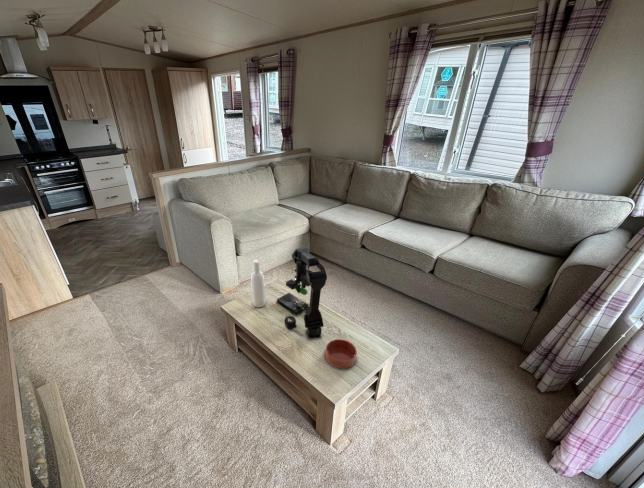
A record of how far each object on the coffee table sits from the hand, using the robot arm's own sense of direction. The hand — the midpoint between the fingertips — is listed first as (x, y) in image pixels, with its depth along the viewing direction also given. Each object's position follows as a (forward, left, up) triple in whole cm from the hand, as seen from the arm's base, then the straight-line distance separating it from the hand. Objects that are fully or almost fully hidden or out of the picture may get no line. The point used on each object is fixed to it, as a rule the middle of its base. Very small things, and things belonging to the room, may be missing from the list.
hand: (301, 291), depth 173 cm
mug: (-7, -19, -12) cm, 23 cm away
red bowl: (+13, -41, -11) cm, 44 cm away
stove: (-5, +2, -11) cm, 12 cm away
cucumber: (0, 0, -1) cm, 1 cm away
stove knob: (-1, -2, -9) cm, 9 cm away
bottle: (-25, +6, -12) cm, 28 cm away
